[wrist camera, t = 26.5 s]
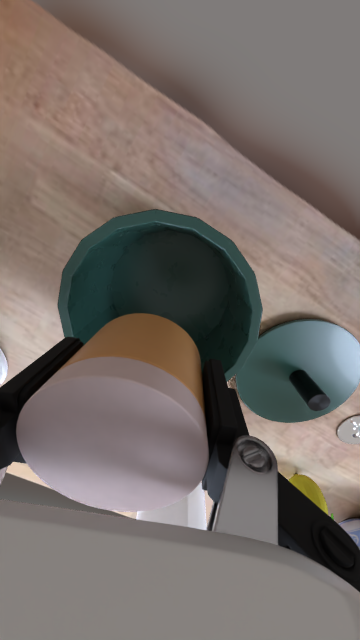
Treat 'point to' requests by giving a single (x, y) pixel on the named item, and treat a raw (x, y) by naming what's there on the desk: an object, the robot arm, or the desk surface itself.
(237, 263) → the pot
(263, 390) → the lid
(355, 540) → the ramen bowl
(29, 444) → the cake
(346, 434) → the wineglass
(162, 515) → the can
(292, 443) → the desk surface
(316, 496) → the lemon
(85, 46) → the desk surface
